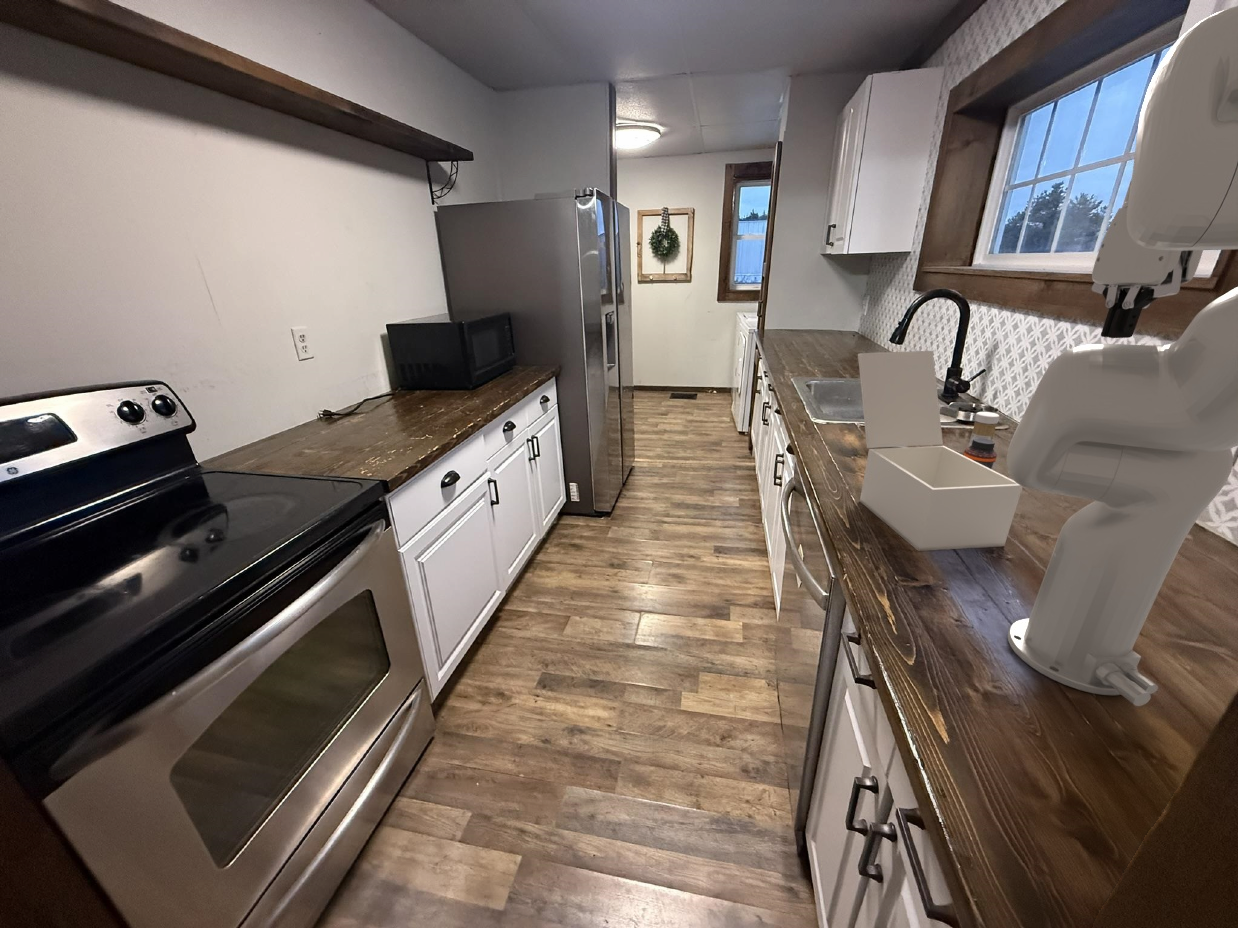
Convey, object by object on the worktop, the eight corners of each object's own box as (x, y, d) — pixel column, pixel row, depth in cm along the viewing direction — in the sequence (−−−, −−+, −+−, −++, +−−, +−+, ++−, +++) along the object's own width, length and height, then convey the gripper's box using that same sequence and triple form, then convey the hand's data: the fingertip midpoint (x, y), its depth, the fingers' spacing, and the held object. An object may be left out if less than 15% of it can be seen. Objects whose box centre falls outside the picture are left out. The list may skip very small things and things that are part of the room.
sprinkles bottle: (988, 466, 122) (1003, 414, 117) (980, 470, 120) (994, 417, 115) (968, 460, 126) (981, 409, 121) (959, 464, 123) (973, 413, 118)
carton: (1004, 546, 88) (1023, 485, 84) (918, 550, 87) (932, 489, 83) (931, 497, 107) (943, 445, 102) (859, 501, 106) (869, 449, 101)
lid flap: (932, 350, 104) (930, 352, 105) (859, 353, 103) (857, 354, 104) (942, 444, 103) (940, 444, 103) (868, 447, 102) (866, 448, 102)
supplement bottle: (956, 490, 110) (968, 442, 106) (953, 480, 115) (965, 434, 111) (988, 495, 107) (1002, 446, 103) (984, 484, 112) (998, 437, 108)
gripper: (1266, 183, 57) (1200, 344, 64) (1133, 199, 71) (1090, 330, 78) (1206, 184, 57) (1146, 345, 64) (1084, 200, 71) (1045, 331, 78)
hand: (1115, 336), depth 71 cm, fingers closed
